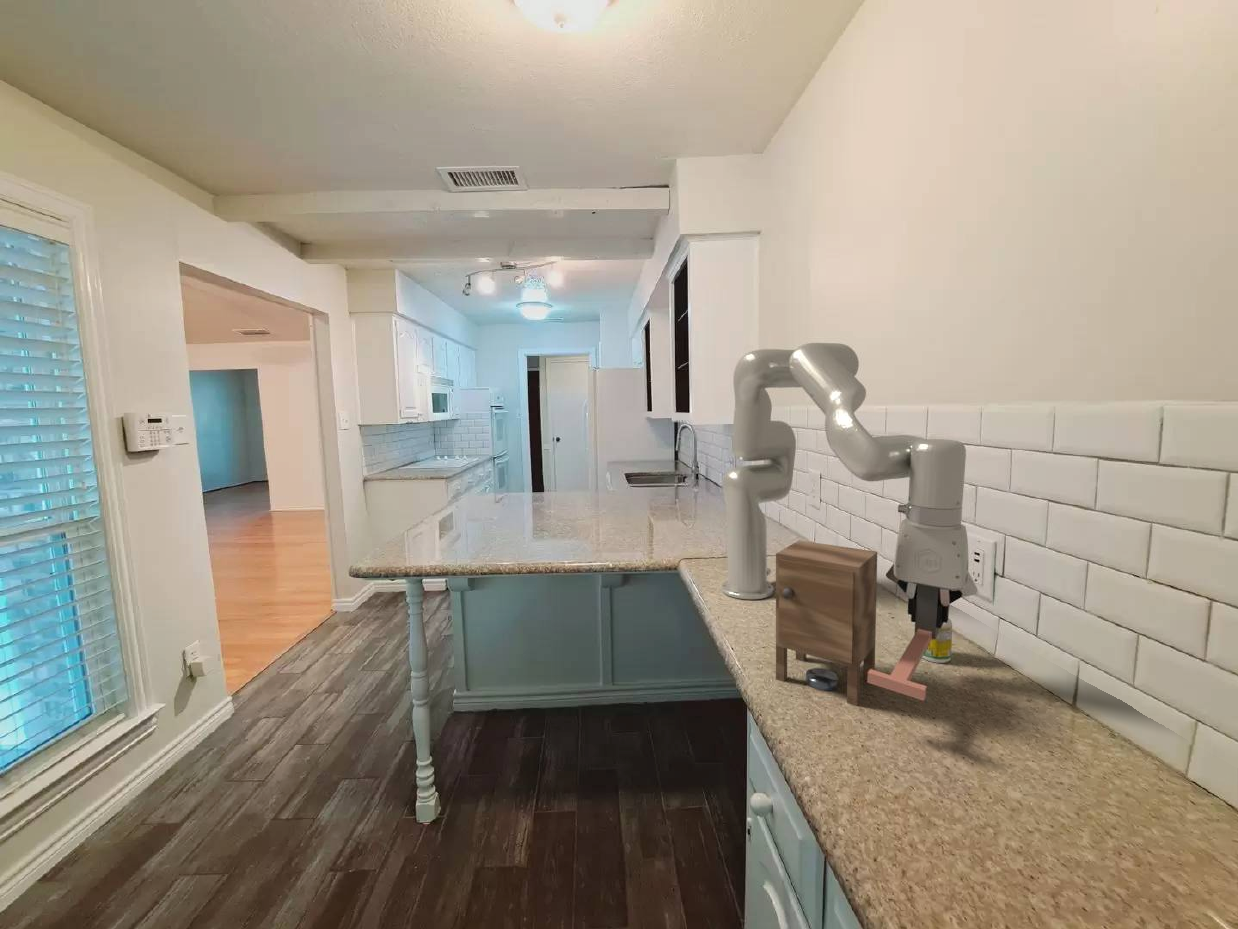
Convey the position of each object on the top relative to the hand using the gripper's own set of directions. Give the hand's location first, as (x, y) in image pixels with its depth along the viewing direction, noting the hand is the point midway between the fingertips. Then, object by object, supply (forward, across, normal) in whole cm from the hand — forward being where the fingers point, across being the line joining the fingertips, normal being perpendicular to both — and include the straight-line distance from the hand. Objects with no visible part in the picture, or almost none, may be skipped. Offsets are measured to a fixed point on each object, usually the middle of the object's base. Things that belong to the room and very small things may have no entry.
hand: (927, 621), depth 86 cm
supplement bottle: (+10, 0, +8) cm, 13 cm away
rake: (+2, 0, -10) cm, 10 cm away
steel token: (+10, -13, -13) cm, 21 cm away
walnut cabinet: (+10, -13, -11) cm, 20 cm away
